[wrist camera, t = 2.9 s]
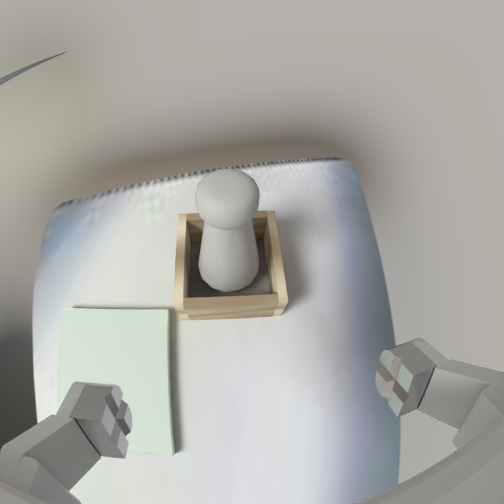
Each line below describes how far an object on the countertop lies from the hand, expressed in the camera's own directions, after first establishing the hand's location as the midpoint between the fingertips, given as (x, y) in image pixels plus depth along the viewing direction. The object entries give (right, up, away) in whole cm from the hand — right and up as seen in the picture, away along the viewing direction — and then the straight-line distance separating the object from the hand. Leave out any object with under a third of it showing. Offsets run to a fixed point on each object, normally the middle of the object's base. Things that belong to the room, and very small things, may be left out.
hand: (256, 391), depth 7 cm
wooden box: (-2, +2, +21) cm, 21 cm away
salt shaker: (-2, +2, +21) cm, 22 cm away
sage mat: (-14, -8, +15) cm, 22 cm away
